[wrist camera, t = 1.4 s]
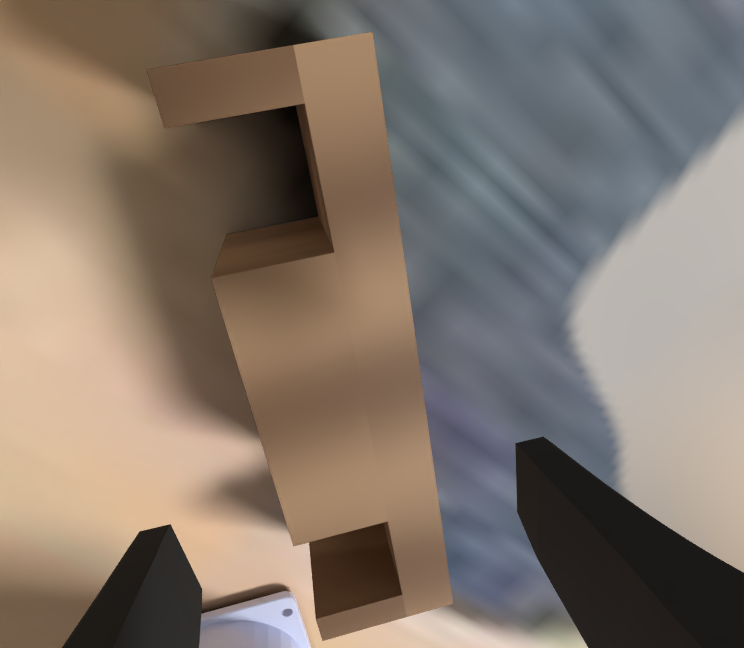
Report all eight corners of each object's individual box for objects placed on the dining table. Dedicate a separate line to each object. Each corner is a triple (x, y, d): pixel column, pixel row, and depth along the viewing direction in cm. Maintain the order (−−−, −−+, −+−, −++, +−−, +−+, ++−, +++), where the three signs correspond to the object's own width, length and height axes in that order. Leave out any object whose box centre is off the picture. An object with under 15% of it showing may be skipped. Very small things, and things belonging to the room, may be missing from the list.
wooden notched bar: (418, 509, 24) (452, 603, 19) (312, 537, 23) (322, 640, 19) (343, 54, 16) (372, 31, 11) (183, 81, 16) (146, 69, 11)
